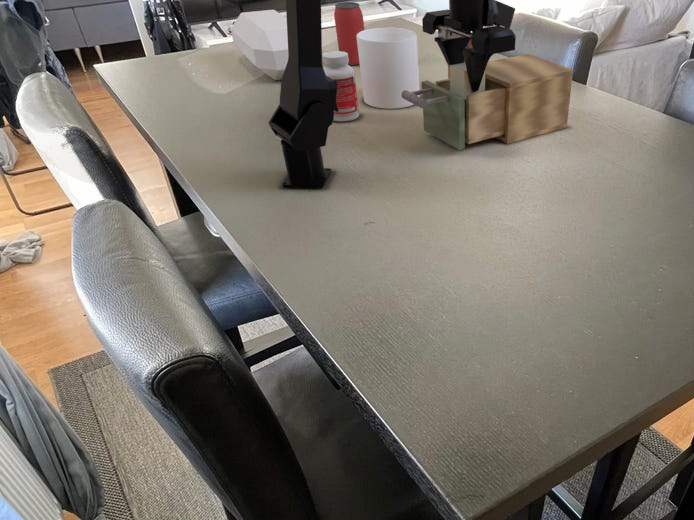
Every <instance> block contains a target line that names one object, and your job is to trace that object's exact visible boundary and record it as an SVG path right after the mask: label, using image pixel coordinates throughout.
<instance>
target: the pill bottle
mask: <svg viewBox="0 0 694 520" xmlns="http://www.w3.org/2000/svg"><path fill="white" fill-rule="evenodd" d="M348 62H349V58H348V53H346V52H342V51H339V50H332V51H326V52H322V65H323V69H324V72H325V75H326V76H328V77H330V78H331V79H333V80H335V81H336V82H337V94H336V104H337V108H338V112H336V111H334V120H333V122H350V121H353V120H356V119H358V118H359V116H360V107H359V100H358V99H359V98H358V92H357V91H358V90H357V85H356V84H357V82H356V77H355V71H354V69H353V67H352V66H351V65H348Z"/></svg>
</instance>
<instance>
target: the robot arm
mask: <svg viewBox="0 0 694 520" xmlns="http://www.w3.org/2000/svg"><path fill="white" fill-rule="evenodd" d="M285 12H286V13H285V14H286V18H287V36H288V62H287V65H286V68H285V71H284V73H283V76H282V80H280V81H281V82H280V91H279V104H278V106H277V107H276V110H274V112H273V114H272V116H271V117H270V119H269V121H268V126H269V127H270V129H271V131H272V132H273V134H274V135H275V136H277V137H279V138H280V146H281V150H282V154H283V159H284V165H285V167H286V172H287V174H286V176H285V177H284V179H283V181H282V182H281V186H282V188H299V189H300V188H304V189H305V188H306V189H323V188H324V187H325V186H326V184H327V181H328V180H329V178H330V176H331V175H332V168H329V167H325V165H324V160H323V154H322V148H323V147H325V146H326V145H327V140H328V134H329V127H330V126H332V125H333V123H334V111H336V112H338V108H337V104H336V94H337V82H336V81H335V80H333V79H331V78H330V77H328V76H326V75H325V72H324V69H323V67H324V64H323V59H322V54H323V34H322V32H323V31H322V27H323V25H322V0H285ZM515 12H516V7H513V6H511V5H508V4H505V3H504V2H501V1H498V0H448V9H442V10H434V11H427V12H425V14H424V16H423V17H422V19H421V23H422V24H421V25H422V32H423V33H425V34H428V35H435V33H436V31H437V36H436V37H435V36H434V42H435V43H436V44H437V46H438V48H439V49H440V52H441V53H442V56H443V57H444V60H445V62H446V64H447V67H448V66H449V69H450V65H454V64H460V63H464V59H465V64H466V68H467V73H468V78H469V82H470V86H471V89H472V91H473V92H476V91H478V90H479V87H480V84H481V81H482V78H483V75H484V71H485V69H486V66H487V63H488V61H489V59H490V57H491V56H492V57H493V55H496V54H502V53H507V52H512V51H515V50H516V41H517V39H516V38H517V36H516V34H515V33H514V31H513V29H511V26H512V23H513V20H514V16H515ZM471 32H472V33H471ZM470 39H471V44H472V47H471V48H466V46H467V44H468V43H469V41H470Z"/></svg>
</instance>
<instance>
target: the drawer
mask: <svg viewBox="0 0 694 520" xmlns="http://www.w3.org/2000/svg"><path fill="white" fill-rule="evenodd" d="M417 95H420V97H419V96H417ZM401 96H402V98H403V99H405V100H407V101H409V102H411V103H413V104H414V105H415V106H416V107H419V108H420V109H422V118H423V119H422V120H423V131H424V132H426V133H428V134H430V135H431V136H433V137H435V138H437V139H438V140H440V141H442V142H444V143H445V144H448V145H449V146H451V147H453V148H455V149H456V150H458V151H461V150H465V148H466V144H468V145H471V144H475V143H477V142H481V141H482V142H483V141H485V140H489V139H494V138H495V137H497V136H501V135H504V134H505V123H506V98H507V87H505V86H503V85H500V84H498V83H496V82H493V81H491V80H488V79H486V78H485V91H483V92H479V93H474V94H470V95H466V99H465V100H464V97H461V96H459V95H457V94H455V93H453V92H451V91H450V79H448V78H446V79H441V80H436V81H435V83H434V82H432V81H429V80H423V81H421V89H420V90H417V91H413V92H409V91H407V90H404V91H403V92H402V94H401ZM414 105H413V106H414Z"/></svg>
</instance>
